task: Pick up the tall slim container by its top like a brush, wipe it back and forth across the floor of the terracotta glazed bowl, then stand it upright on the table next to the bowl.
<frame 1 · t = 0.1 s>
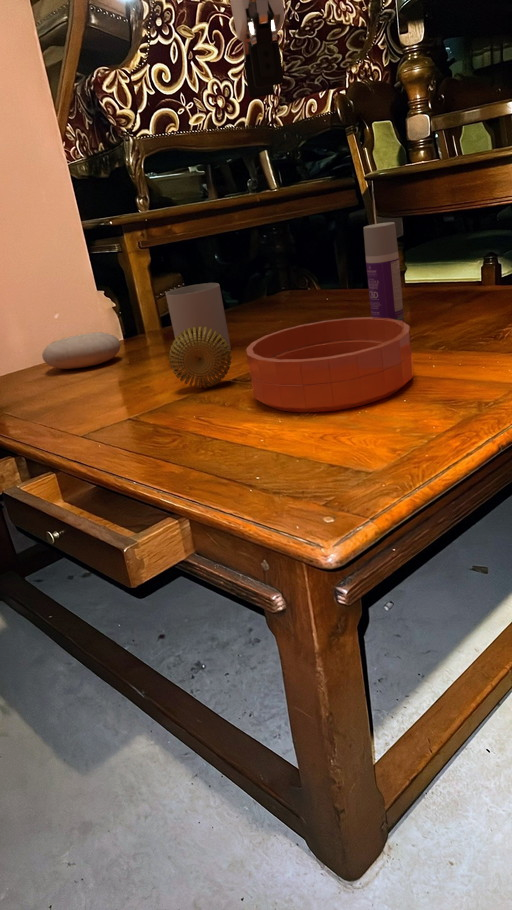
hand: (265, 91, 81), 33 cm above the table, tool pointing down, fingers open, 9 cm apart
container: (388, 329, 104), on the table
sculpture: (206, 388, 91), on the table
decorative stone: (85, 367, 115), on the table
cup: (204, 353, 109), on the table
bowl: (332, 387, 81), on the table
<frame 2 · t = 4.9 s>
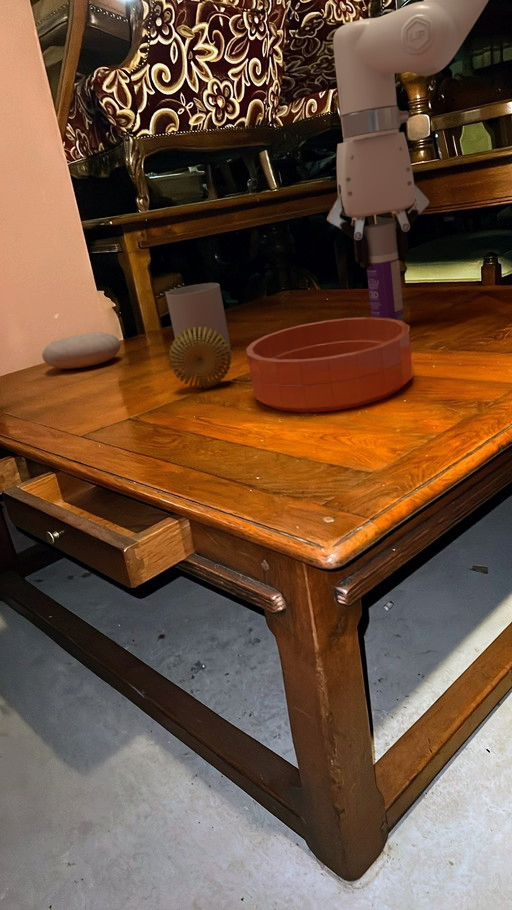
hand: (382, 262, 100), 10 cm above the table, tool pointing down, fingers closed on container, 4 cm apart
container: (388, 329, 104), on the table, touching gripper
everything else where it was.
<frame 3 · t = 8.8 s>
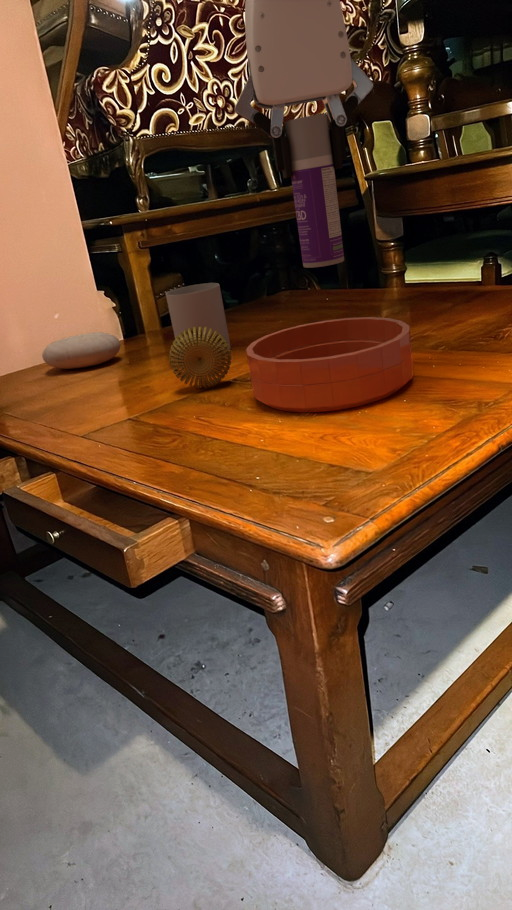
hand: (312, 171, 74), 24 cm above the table, tool pointing down, fingers closed on container, 4 cm apart
container: (323, 265, 78), point 14 cm above the table, touching gripper
everything else where it was.
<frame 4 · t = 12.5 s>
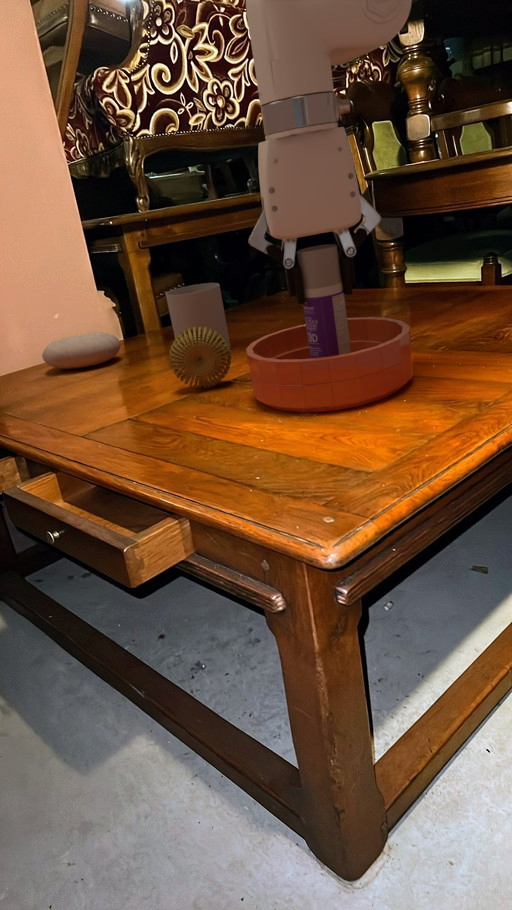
hand: (322, 295, 78), 11 cm above the table, tool pointing down, fingers closed on container, 4 cm apart
container: (334, 380, 81), point 1 cm above the table, touching gripper
everything else where it was.
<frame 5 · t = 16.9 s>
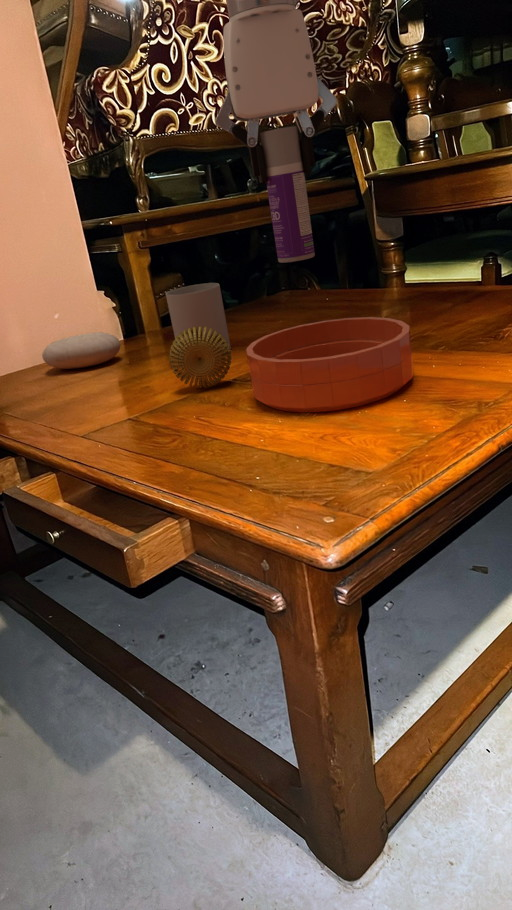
hand: (285, 176, 84), 24 cm above the table, tool pointing down, fingers closed on container, 4 cm apart
container: (296, 260, 88), point 14 cm above the table, touching gripper
everything else where it was.
when the fingers open (10 cm above the table, at t = 20.4 s): container stays where it is, on the table.
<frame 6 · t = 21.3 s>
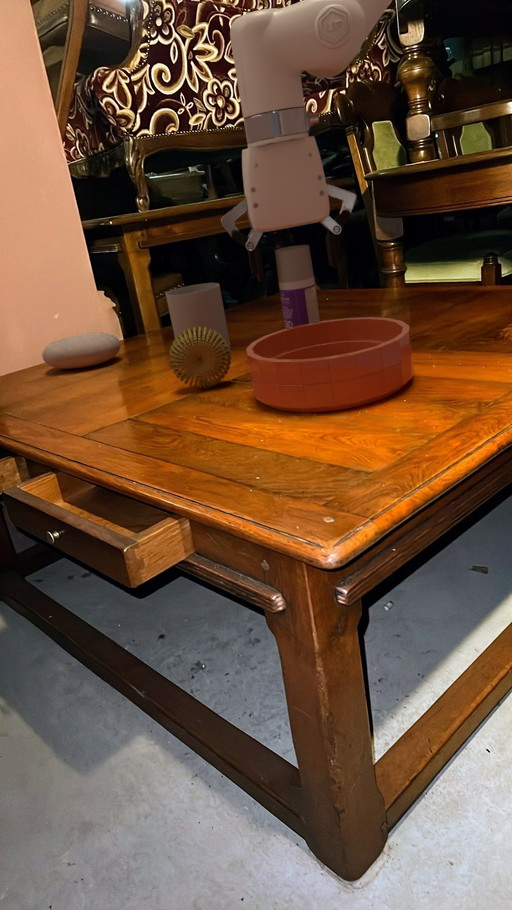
hand: (297, 273, 90), 12 cm above the table, tool pointing down, fingers open, 9 cm apart
container: (307, 362, 95), on the table
everything else where it was.
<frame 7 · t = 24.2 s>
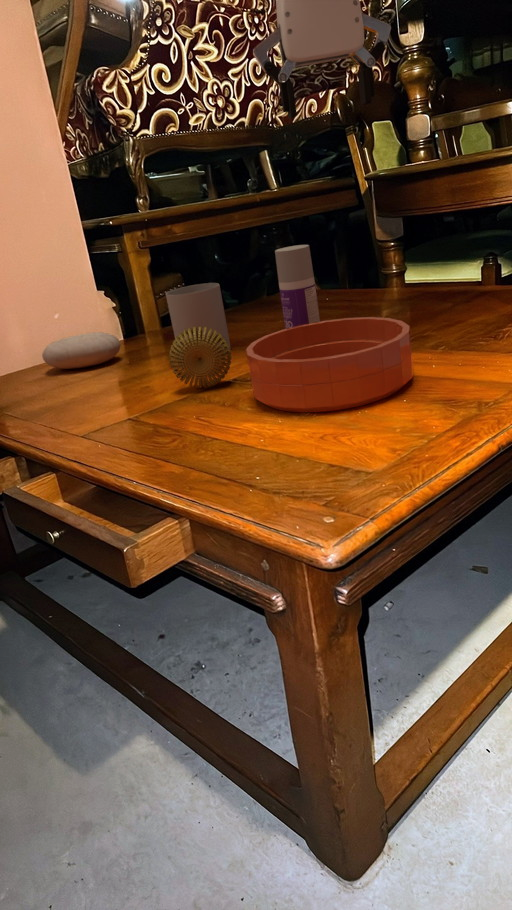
hand: (329, 111, 89), 30 cm above the table, tool pointing down, fingers open, 9 cm apart
nothing on the table moved.
at the end: container inside the target area on the table beside the bowl (0.1 cm from its centre), on the table; container tilted 0°; the gripper is holding nothing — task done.
